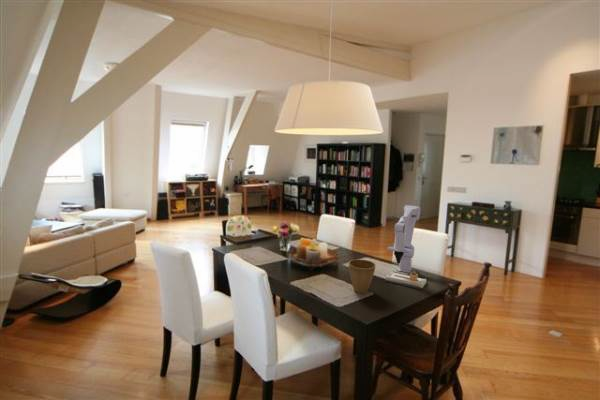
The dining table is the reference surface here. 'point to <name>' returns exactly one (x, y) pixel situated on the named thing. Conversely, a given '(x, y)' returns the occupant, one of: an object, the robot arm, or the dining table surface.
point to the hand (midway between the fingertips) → (398, 263)
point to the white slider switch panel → (405, 279)
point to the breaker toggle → (413, 276)
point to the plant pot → (361, 274)
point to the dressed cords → (404, 283)
